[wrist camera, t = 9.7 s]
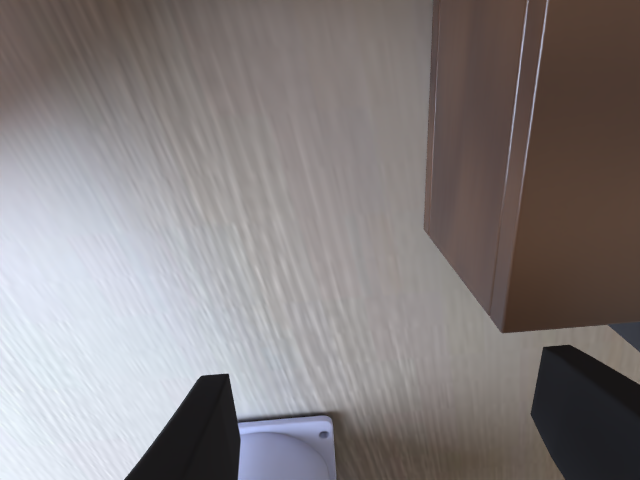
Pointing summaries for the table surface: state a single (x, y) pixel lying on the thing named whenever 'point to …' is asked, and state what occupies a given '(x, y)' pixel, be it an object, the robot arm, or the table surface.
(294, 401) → the table surface
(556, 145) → the cupboard
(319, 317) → the table surface
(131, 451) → the table surface
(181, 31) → the table surface
